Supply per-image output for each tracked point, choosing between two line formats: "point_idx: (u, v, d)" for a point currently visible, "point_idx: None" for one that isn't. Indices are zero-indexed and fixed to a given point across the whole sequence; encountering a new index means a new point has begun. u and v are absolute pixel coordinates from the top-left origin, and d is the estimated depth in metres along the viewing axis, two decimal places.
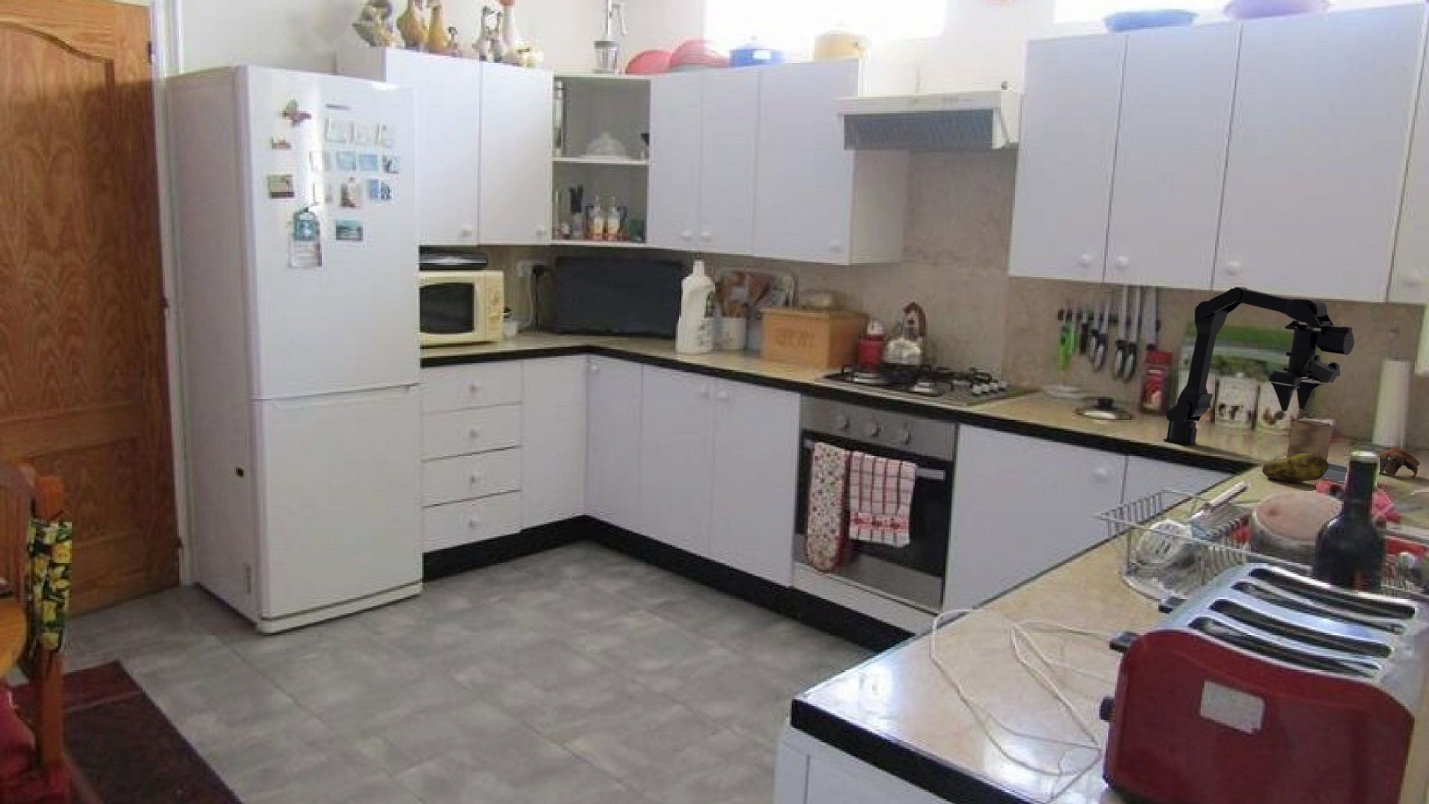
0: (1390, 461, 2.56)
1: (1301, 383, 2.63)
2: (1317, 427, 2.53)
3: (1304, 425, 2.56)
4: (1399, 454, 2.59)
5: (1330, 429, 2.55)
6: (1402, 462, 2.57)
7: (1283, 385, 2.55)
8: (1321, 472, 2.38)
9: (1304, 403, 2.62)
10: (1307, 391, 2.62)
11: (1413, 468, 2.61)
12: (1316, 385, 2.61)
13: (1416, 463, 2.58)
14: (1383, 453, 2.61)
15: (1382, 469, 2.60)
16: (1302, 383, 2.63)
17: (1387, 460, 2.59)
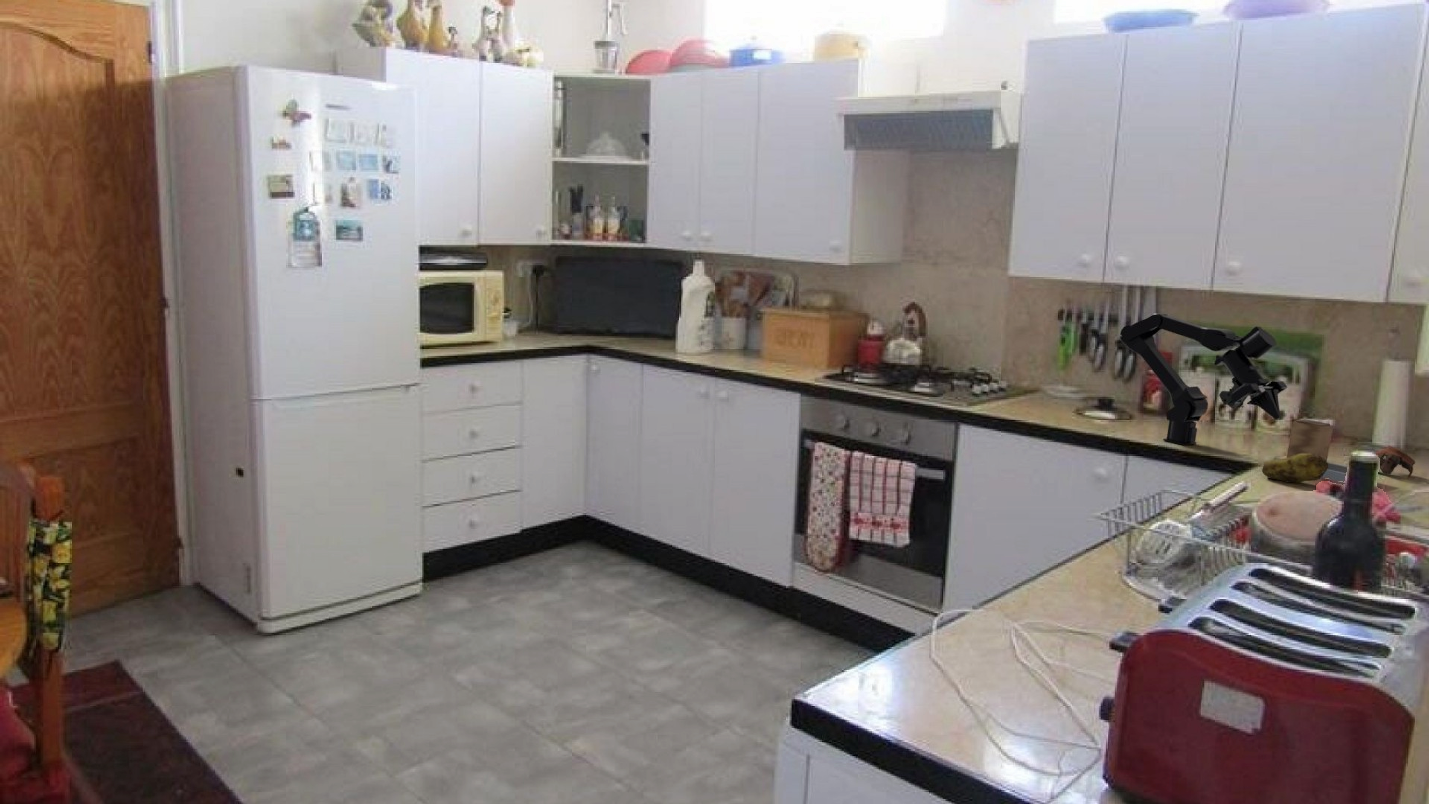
0: (1386, 460, 2.57)
1: None
2: (1317, 427, 2.53)
3: (1304, 425, 2.56)
4: (1395, 453, 2.59)
5: (1330, 429, 2.55)
6: (1398, 461, 2.58)
7: None
8: (1321, 472, 2.38)
9: None
10: None
11: (1408, 467, 2.62)
12: None
13: (1412, 462, 2.59)
14: (1379, 452, 2.62)
15: None
16: None
17: (1383, 459, 2.60)
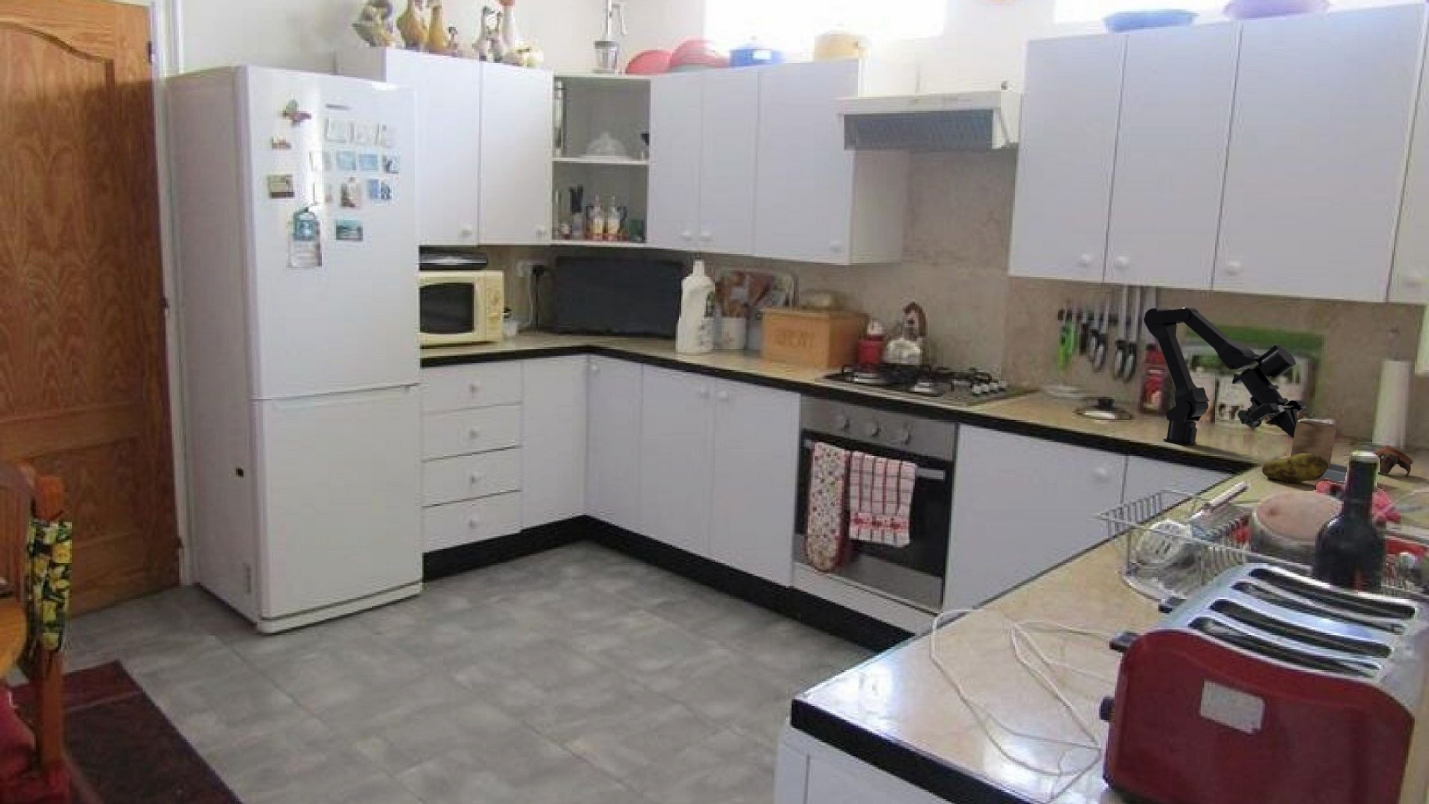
0: (1384, 460, 2.57)
1: None
2: (1321, 428, 2.53)
3: (1308, 426, 2.55)
4: (1392, 453, 2.60)
5: (1334, 430, 2.55)
6: (1396, 461, 2.58)
7: None
8: (1321, 472, 2.38)
9: None
10: None
11: (1406, 466, 2.62)
12: None
13: (1409, 462, 2.59)
14: (1376, 452, 2.63)
15: None
16: None
17: (1381, 459, 2.60)
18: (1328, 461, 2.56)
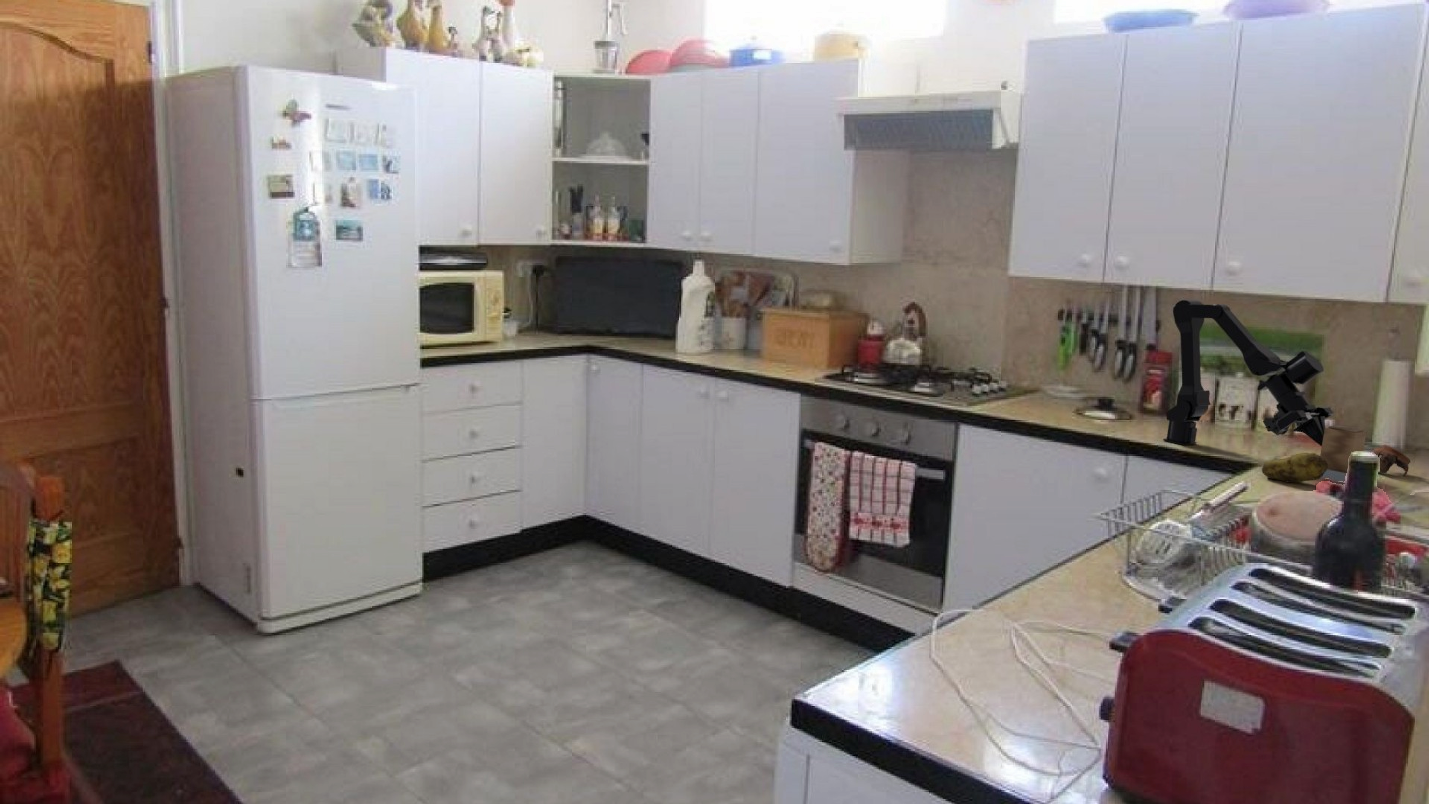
0: (1382, 459, 2.58)
1: None
2: (1351, 433, 2.47)
3: (1337, 431, 2.50)
4: (1390, 452, 2.60)
5: (1364, 435, 2.49)
6: (1394, 460, 2.58)
7: None
8: (1320, 472, 2.38)
9: None
10: None
11: (1404, 466, 2.63)
12: None
13: (1407, 461, 2.60)
14: (1374, 451, 2.63)
15: None
16: None
17: None
18: None
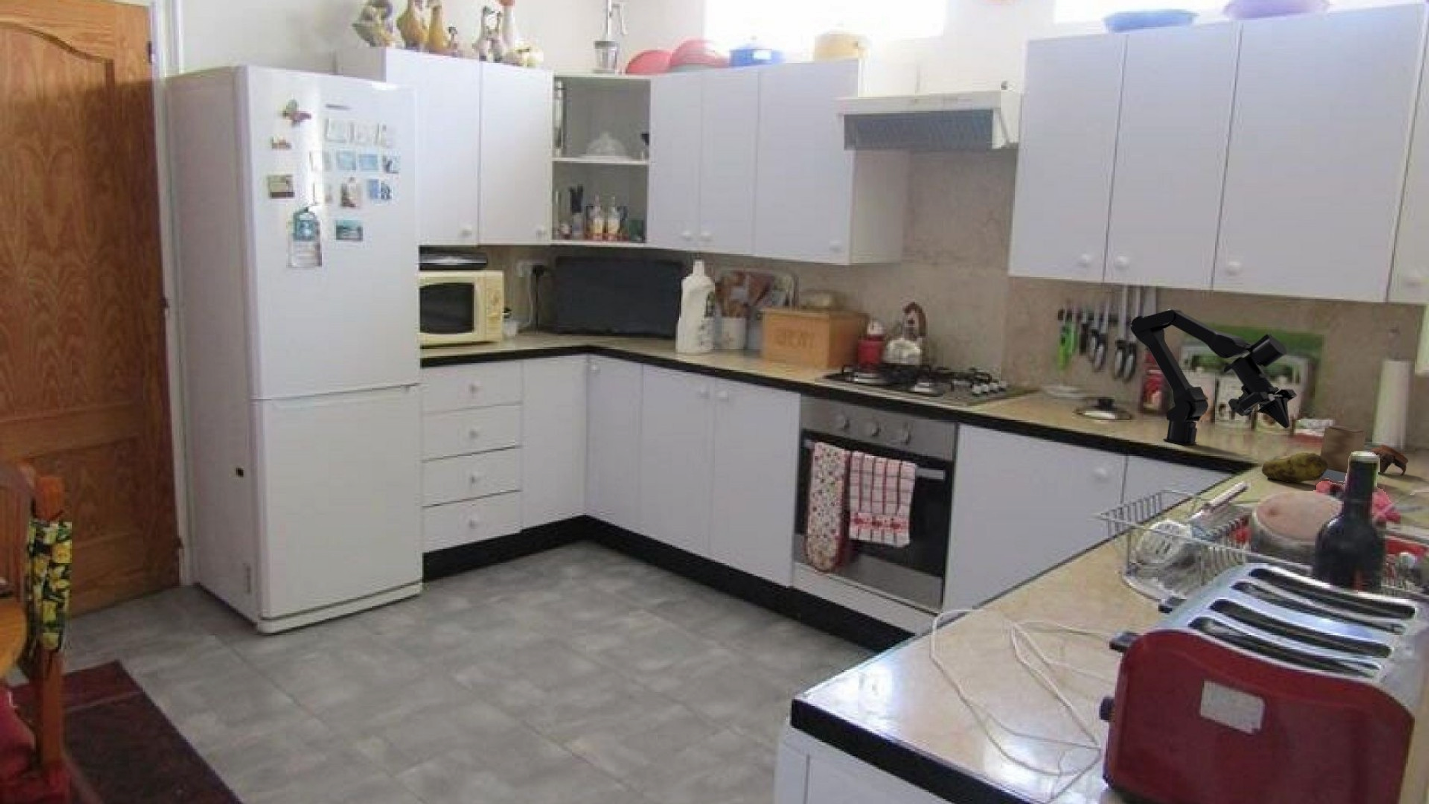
0: (1380, 459, 2.58)
1: None
2: (1351, 433, 2.47)
3: (1337, 431, 2.50)
4: (1388, 452, 2.61)
5: (1364, 435, 2.49)
6: (1391, 460, 2.59)
7: None
8: (1320, 472, 2.38)
9: None
10: None
11: (1401, 466, 2.63)
12: None
13: (1405, 461, 2.60)
14: (1372, 451, 2.63)
15: None
16: None
17: None
18: None
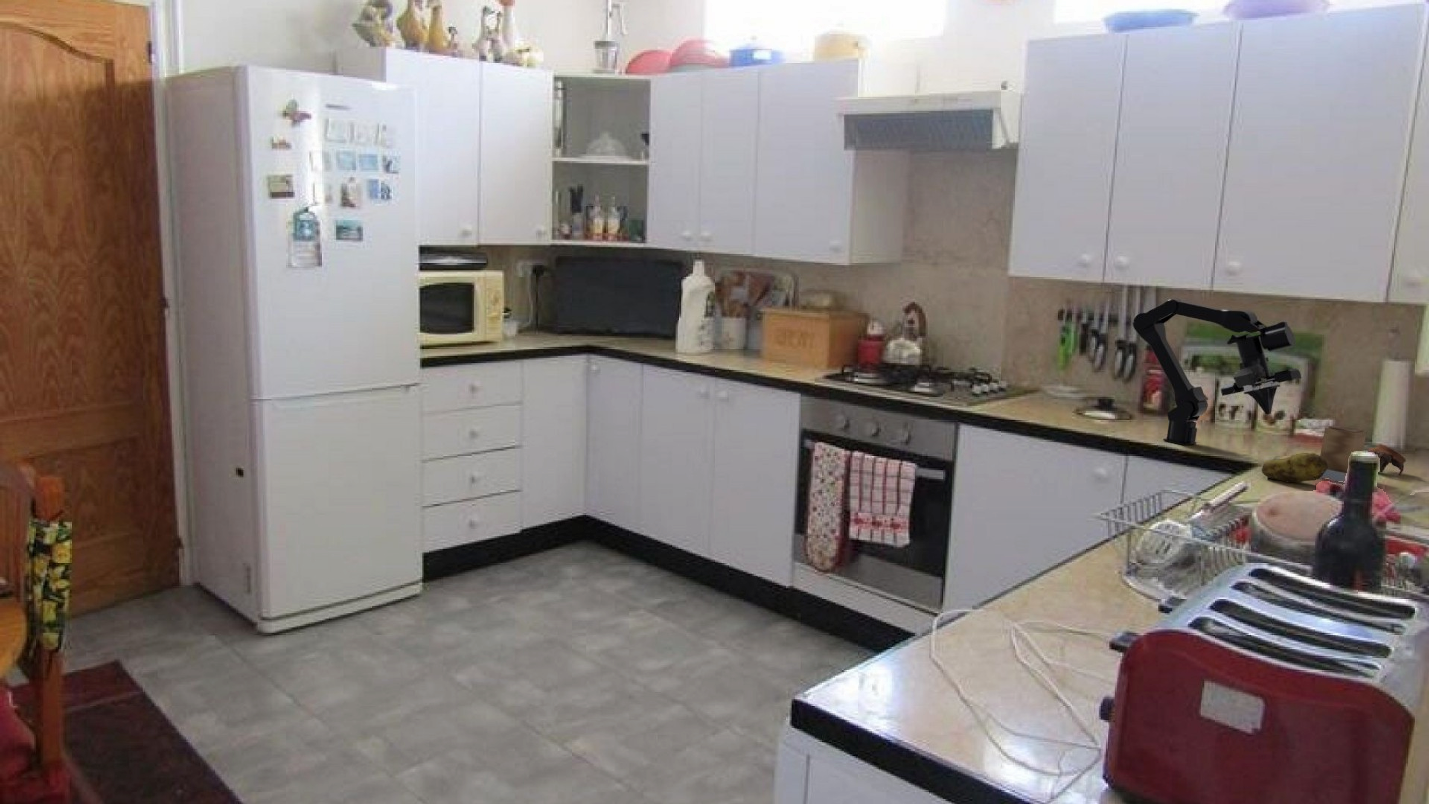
0: None
1: None
2: (1351, 433, 2.47)
3: (1337, 431, 2.50)
4: (1386, 451, 2.61)
5: (1364, 435, 2.49)
6: (1389, 459, 2.59)
7: None
8: (1320, 472, 2.38)
9: None
10: None
11: (1399, 465, 2.63)
12: None
13: (1402, 460, 2.60)
14: (1370, 450, 2.64)
15: None
16: None
17: None
18: None
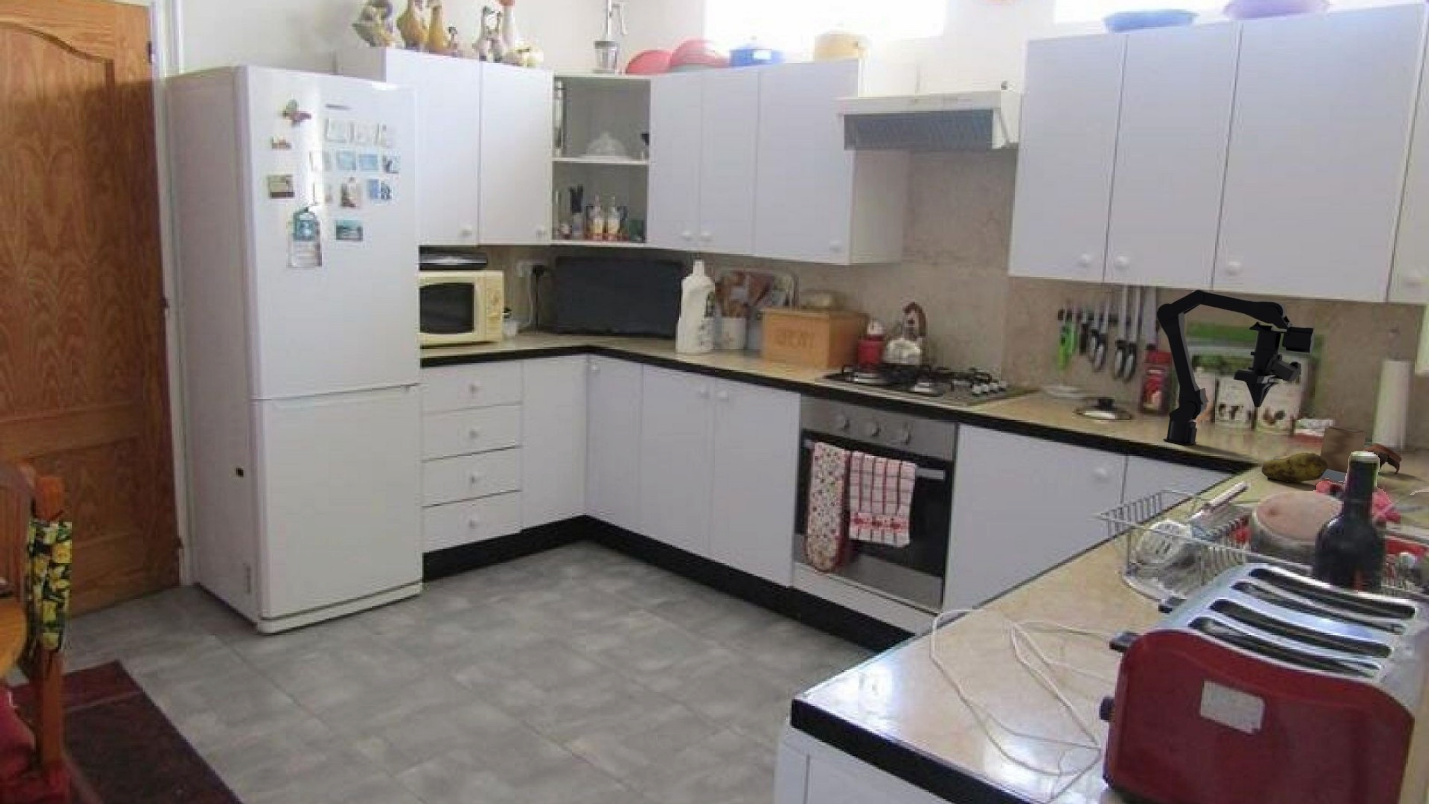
0: None
1: None
2: (1351, 433, 2.47)
3: (1337, 431, 2.50)
4: (1382, 451, 2.62)
5: (1364, 435, 2.49)
6: (1386, 459, 2.60)
7: (1255, 382, 2.69)
8: (1320, 472, 2.38)
9: None
10: None
11: (1395, 464, 2.64)
12: (1271, 384, 2.70)
13: (1399, 459, 2.61)
14: (1366, 450, 2.64)
15: None
16: None
17: None
18: None
